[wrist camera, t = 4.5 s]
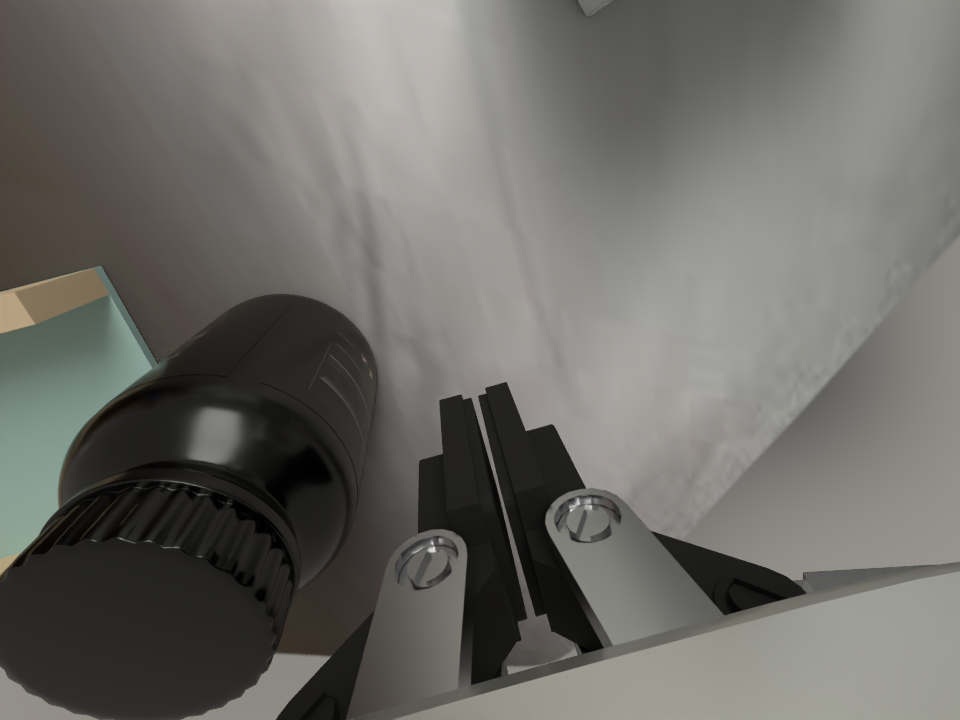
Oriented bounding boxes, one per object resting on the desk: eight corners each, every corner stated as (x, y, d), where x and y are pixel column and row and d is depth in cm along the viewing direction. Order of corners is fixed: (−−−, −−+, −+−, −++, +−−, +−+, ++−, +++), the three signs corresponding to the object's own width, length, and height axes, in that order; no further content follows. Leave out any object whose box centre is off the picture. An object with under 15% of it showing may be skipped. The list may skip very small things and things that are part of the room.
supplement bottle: (248, 457, 20) (43, 793, 9) (177, 311, 18) (-225, 546, 7) (400, 421, 21) (372, 711, 10) (352, 272, 18) (239, 437, 7)
